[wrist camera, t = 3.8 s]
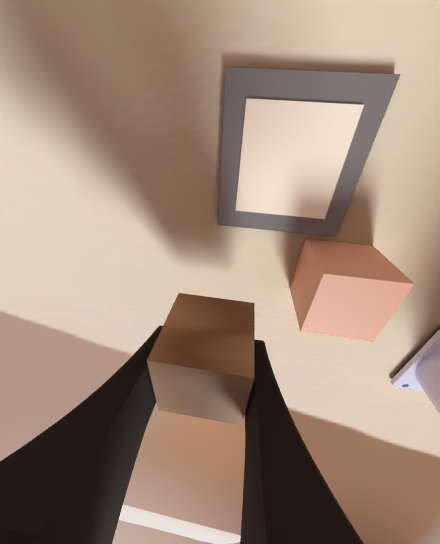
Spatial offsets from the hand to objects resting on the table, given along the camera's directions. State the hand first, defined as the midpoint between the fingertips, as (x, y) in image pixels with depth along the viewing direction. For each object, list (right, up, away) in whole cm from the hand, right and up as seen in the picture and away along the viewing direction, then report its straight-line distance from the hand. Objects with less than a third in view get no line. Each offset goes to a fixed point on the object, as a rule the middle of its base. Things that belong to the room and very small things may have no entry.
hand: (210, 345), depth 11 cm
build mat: (+4, +9, 0) cm, 10 cm away
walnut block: (0, +1, +1) cm, 2 cm away
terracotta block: (+8, +4, +3) cm, 9 cm away
